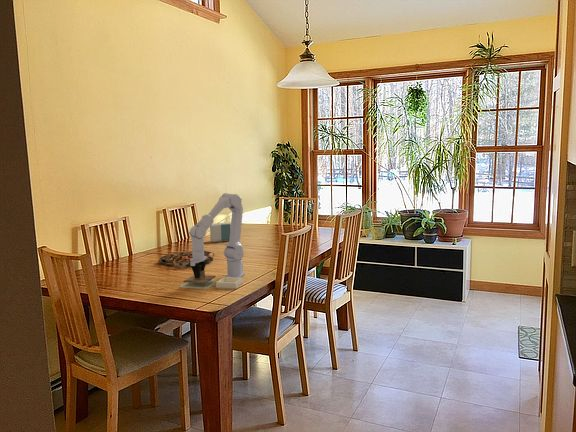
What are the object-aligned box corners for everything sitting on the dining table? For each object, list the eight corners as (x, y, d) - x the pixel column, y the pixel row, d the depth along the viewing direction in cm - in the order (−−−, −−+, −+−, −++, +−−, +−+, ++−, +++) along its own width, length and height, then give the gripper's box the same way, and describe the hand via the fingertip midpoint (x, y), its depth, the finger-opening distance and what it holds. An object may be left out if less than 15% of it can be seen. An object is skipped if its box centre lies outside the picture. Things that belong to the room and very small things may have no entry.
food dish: (203, 271, 274) (202, 258, 272) (149, 270, 280) (147, 257, 279) (223, 256, 308) (222, 244, 306) (174, 255, 314) (173, 244, 313)
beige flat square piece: (191, 279, 251) (191, 279, 251) (218, 281, 248) (218, 280, 248) (179, 287, 238) (179, 286, 238) (207, 289, 234) (207, 288, 234)
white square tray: (223, 282, 245) (223, 277, 245) (242, 283, 243) (242, 277, 242) (216, 288, 235) (216, 282, 235) (235, 289, 233) (235, 283, 233)
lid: (193, 276, 250) (193, 268, 249) (215, 276, 247) (215, 268, 246) (183, 282, 238) (182, 273, 237) (206, 283, 235) (205, 274, 235)
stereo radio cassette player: (212, 243, 353) (211, 215, 350) (209, 241, 361) (208, 214, 358) (239, 240, 361) (239, 214, 358) (236, 238, 369) (235, 212, 366)
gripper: (196, 247, 248) (197, 272, 250) (184, 252, 234) (185, 280, 236) (209, 247, 247) (210, 273, 248) (197, 253, 233) (198, 280, 235)
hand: (199, 276), depth 242 cm, fingers closed on lid, 4 cm apart
